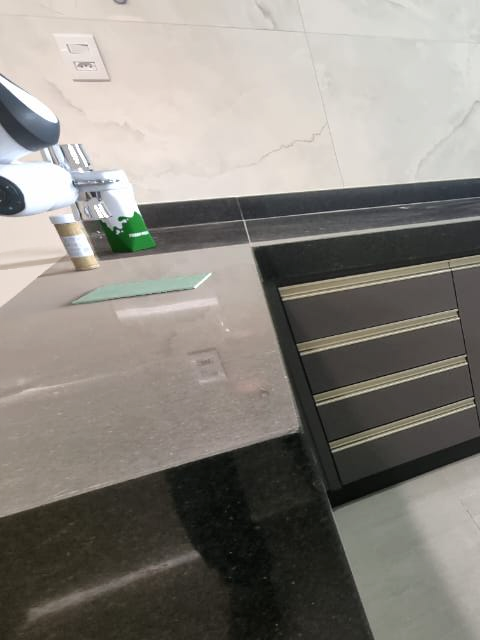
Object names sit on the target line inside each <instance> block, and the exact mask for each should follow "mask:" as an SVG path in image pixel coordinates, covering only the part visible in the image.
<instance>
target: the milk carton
mask: <svg viewBox="0 0 480 640" xmlns="http://www.w3.org/2000/svg"><path fill="white" fill-rule="evenodd" d="M129 185H130V186H129V187H128V188H123V189H117V190H110V191H100V193H101V197H102V200H103V202H104V204H105V206H106V207H107V209H108V210H109V211H110V213H111V214H112V217H111V218H107V219H100V220H98V222H99V224H100V226H101V228H102V230H103V233H104V235H105V238H106V239H107V242H108V244H109V247H110V249H111V252H112V253H134V252H138V251H139V252H140V251H143V250H147V249H151V248H156V247H157V244H156V243H155V240H154V239H153V237H152V235H151V233H150V231H149V230H148V227H147V225H146V223H145V220H144V218H143V216H142V213H141V212H140V210H139V209H140V208H139V207H138V204H137V202H136V199H135V195H134V190H133V185H132V183H129ZM155 246H156V247H155ZM142 249H143V250H142Z"/></svg>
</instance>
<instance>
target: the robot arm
mask: <svg viewBox="0 0 480 640" xmlns="http://www.w3.org/2000/svg"><path fill="white" fill-rule="evenodd" d="M60 134H61V123H60V120H59V118H58V117H57V115H56V114H55V113H54V112H53V111H52V110H51V109H50V108H49V107H47V106H46V105H45V104H44V103H43V102H42V101H40V100H39V99H38V98H36V97H35V96H34V95H32V94H31V93H29V92H27V91H26V90H25V89H23V88H22V87H20V86H19V85H17V84H16V83H15V82H14V81H11V80H10V79H9V78H7V77H6V75H4V74H2V73H1V72H0V217H5V218H22V217H23V218H24V217H30V216H31V217H32V216H35V215H40V214H43V213H45V212H46V213H47V212H52V211H57V210H60V209H64V208H68V207H69V206H70V205H71V204H73V203H74V202H75V201H76V199H77V198H78V194H79V193H83V192H98V191H110V190H117V189H123V188H128V187H129V186H130V185H129V184H130V182H129V179H128V176H127V175H126V173H125V171H124V170H123V169H105V170H104V169H103V170H95V171H83V172H67V171H66V170H65V169H63V168H61V167H60V166H58V165H55V164H53V163H50V162H45V161H43V160H29V161H18V160H19V159H21V158H24V157H25V156H27V155H30V154H31V153H35V152H38V151H39V152H40V150H42V149H44V148H47V147H50V146H52V145H58V143H59V140H60V136H61V135H60ZM70 207H71V206H70Z"/></svg>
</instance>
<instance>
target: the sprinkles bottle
mask: <svg viewBox="0 0 480 640" xmlns="http://www.w3.org/2000/svg"><path fill="white" fill-rule="evenodd" d="M48 219H49V221H50V222H51V224H52V225H53V227H54V228H55V231H56V233H57V235H58V237H59V239H60V241H61V243H62V245H63V247H64V249H65V251H66V253H67V255H68V257H69V258H70V260H71V262H72V264H73V266H74V269H75V271H88V270H94V269H98V268H99V267H100V263H98V261H97V259H96V257H95V255H94V251H93V249H92V248H91V245H90V243H89V241H88V239H87V237H86V234H85V233H84V232H83V230H82V228H81V226H80V224H79V221H75V220H74V218H73V214H72V212H69V213H57V214H53V215H49V216H48Z"/></svg>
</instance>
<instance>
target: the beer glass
mask: <svg viewBox="0 0 480 640" xmlns="http://www.w3.org/2000/svg"><path fill="white" fill-rule="evenodd" d="M39 153H40V155H41V158H42V161H45V162H50V163H53V164H55V165H58V166H60V167H61V168H63V169H65V170H66V171H67V172H83V171H96V170H95V167H94V164H93V162H92V160H91V159H90V156H89V155H88V152H87V151H86V149H85V147H84V145H83V143H69V144H68V143H67V144H55V145H52V146H50V147H47V148H44V149H42V150H39ZM70 209H71V213H72V214H73V218H74V220H75V221H77V222H89V221H99V220H100V219H107V218H111V217H112V214H111V213H110V211H109V210H108V209H107V207H106V206H105V204H104V202H103V200H102V197H101V193H100V191H98V192H83V193H79V194H78V198H77V199H76V201H75V202H74V203H73V204H71V205H70Z"/></svg>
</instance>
